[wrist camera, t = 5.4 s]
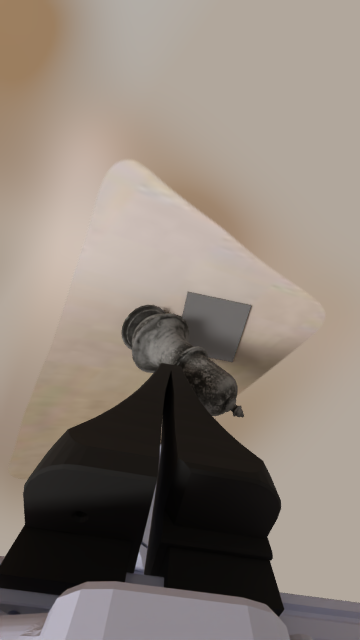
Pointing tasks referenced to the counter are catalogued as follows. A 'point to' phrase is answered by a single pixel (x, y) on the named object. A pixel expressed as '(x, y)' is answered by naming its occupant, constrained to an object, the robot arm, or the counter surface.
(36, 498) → the robot arm
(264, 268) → the counter surface
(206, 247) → the counter surface
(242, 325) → the charcoal mat
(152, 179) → the counter surface
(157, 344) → the dark grey chess piece
